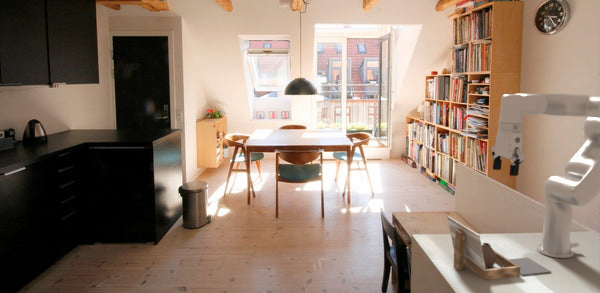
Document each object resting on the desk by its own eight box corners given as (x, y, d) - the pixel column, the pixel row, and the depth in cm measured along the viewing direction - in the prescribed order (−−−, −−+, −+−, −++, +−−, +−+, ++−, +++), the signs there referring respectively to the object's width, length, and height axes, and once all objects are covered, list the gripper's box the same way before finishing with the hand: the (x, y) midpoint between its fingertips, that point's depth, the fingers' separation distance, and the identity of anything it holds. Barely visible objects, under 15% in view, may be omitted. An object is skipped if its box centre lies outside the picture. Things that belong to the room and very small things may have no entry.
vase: (497, 270, 156) (498, 248, 154) (477, 269, 157) (478, 246, 155) (492, 262, 162) (494, 241, 161) (473, 261, 164) (475, 239, 162)
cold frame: (485, 253, 171) (488, 212, 168) (519, 276, 151) (523, 230, 148) (441, 257, 167) (444, 216, 164) (471, 281, 148) (474, 235, 145)
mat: (527, 258, 165) (527, 257, 165) (551, 272, 154) (551, 271, 154) (500, 261, 163) (500, 260, 163) (522, 275, 151) (522, 274, 151)
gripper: (535, 130, 149) (530, 177, 152) (503, 124, 166) (499, 167, 168) (516, 130, 147) (511, 178, 150) (486, 124, 164) (482, 167, 167)
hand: (504, 172), depth 159 cm, fingers open, 9 cm apart
